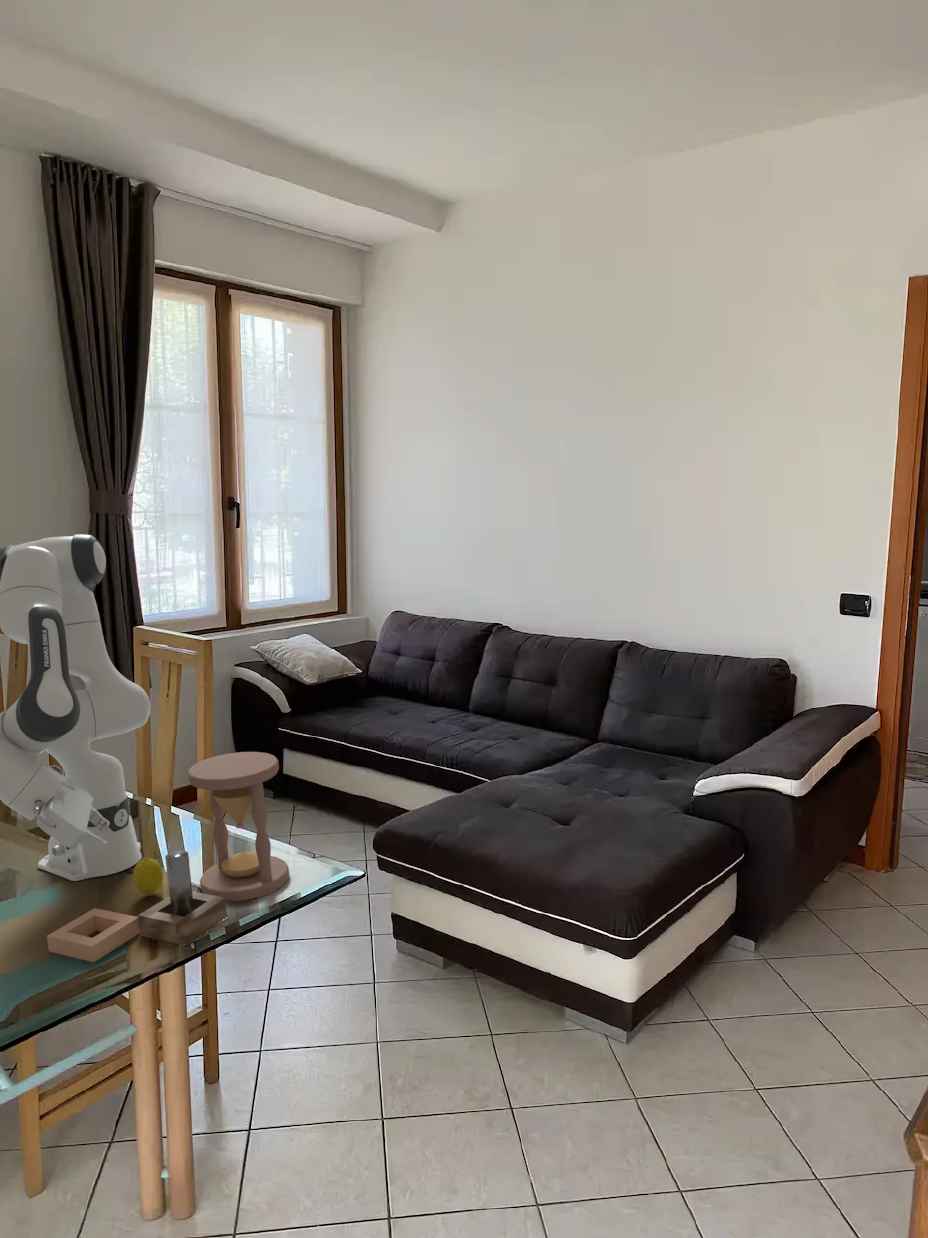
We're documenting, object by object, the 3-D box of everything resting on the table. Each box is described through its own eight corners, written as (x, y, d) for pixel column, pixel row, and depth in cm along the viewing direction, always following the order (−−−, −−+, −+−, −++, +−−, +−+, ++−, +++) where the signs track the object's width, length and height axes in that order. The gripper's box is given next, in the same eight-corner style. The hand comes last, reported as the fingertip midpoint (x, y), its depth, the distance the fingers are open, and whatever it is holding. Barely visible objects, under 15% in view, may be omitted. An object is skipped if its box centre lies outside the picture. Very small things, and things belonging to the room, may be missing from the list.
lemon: (164, 898, 184) (160, 860, 183) (135, 904, 183) (130, 865, 181) (165, 887, 189) (160, 850, 188) (136, 892, 188) (132, 854, 187)
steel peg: (167, 919, 171) (160, 858, 169) (182, 909, 174) (175, 849, 172) (184, 923, 169) (177, 861, 167) (199, 913, 173) (192, 852, 171)
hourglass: (305, 881, 189) (294, 762, 184) (226, 911, 177) (213, 786, 173) (262, 857, 202) (251, 746, 198) (186, 884, 190) (172, 767, 186)
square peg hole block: (140, 936, 170) (138, 915, 169) (182, 908, 179) (180, 889, 179) (187, 946, 165) (185, 925, 164) (227, 917, 175) (225, 897, 174)
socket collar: (48, 951, 166) (46, 936, 165) (96, 923, 176) (94, 908, 175) (94, 962, 161) (91, 946, 161) (140, 932, 171) (138, 917, 170)
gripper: (44, 798, 152) (115, 844, 156) (57, 762, 171) (119, 804, 175) (18, 829, 151) (90, 874, 156) (34, 789, 170) (97, 831, 175)
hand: (106, 837), depth 166 cm, fingers open, 8 cm apart
